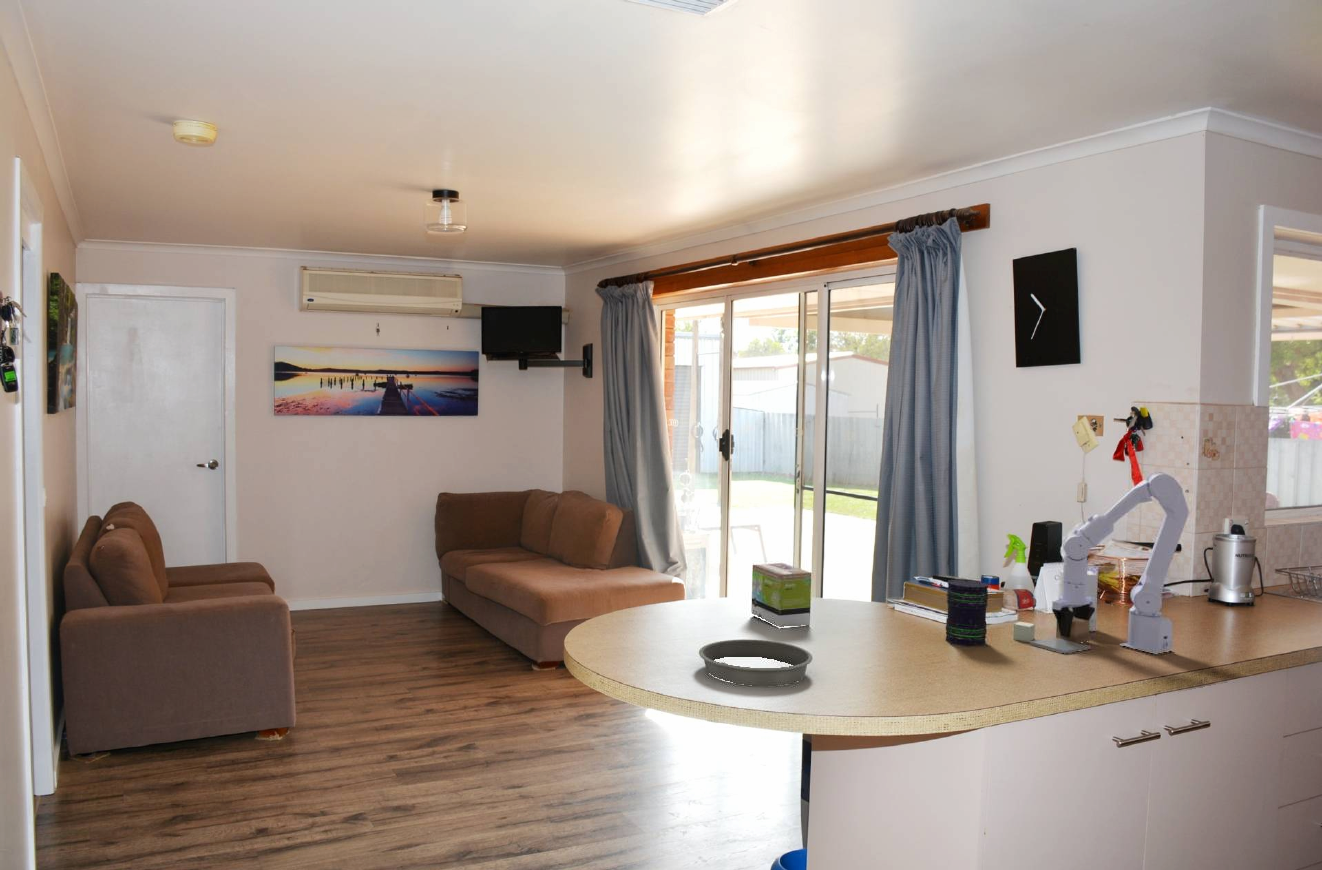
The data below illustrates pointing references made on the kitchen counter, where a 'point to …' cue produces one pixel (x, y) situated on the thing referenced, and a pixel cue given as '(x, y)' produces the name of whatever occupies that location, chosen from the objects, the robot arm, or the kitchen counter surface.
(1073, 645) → the coaster
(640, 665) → the kitchen counter surface
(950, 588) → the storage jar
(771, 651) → the cake pan
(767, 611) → the tea box
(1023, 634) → the sage block
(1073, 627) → the walnut block
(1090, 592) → the skincare box
